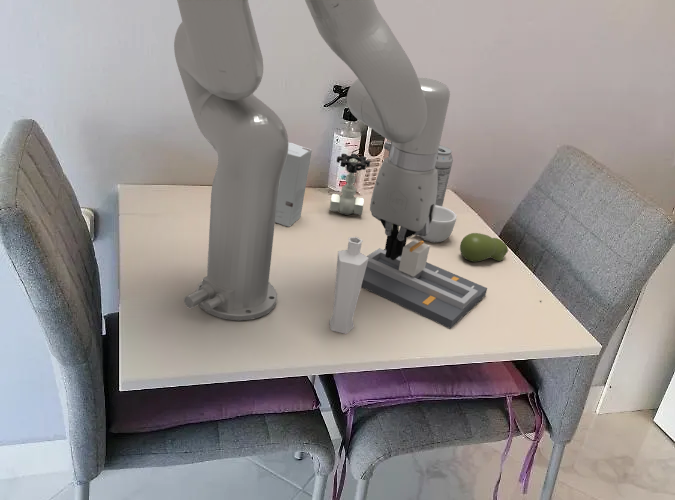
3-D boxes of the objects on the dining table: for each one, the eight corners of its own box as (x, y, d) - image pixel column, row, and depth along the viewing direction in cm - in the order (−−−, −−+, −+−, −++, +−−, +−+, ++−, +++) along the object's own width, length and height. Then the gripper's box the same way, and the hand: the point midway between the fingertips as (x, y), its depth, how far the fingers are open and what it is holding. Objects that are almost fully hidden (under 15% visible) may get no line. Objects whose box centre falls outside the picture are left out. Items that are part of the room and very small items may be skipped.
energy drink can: (427, 207, 149) (442, 142, 142) (445, 219, 145) (460, 153, 138) (405, 211, 146) (419, 144, 139) (423, 223, 142) (437, 155, 135)
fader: (412, 282, 116) (419, 251, 113) (397, 276, 117) (403, 245, 115) (423, 274, 119) (430, 243, 116) (408, 267, 121) (415, 237, 118)
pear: (460, 227, 130) (500, 231, 134) (450, 251, 132) (490, 254, 137) (477, 240, 125) (517, 244, 130) (467, 266, 127) (507, 268, 132)
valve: (361, 222, 138) (370, 167, 133) (328, 218, 138) (336, 162, 132) (361, 209, 144) (370, 155, 138) (329, 204, 144) (337, 151, 138)
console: (450, 328, 109) (454, 314, 107) (346, 279, 118) (348, 266, 116) (485, 295, 119) (489, 282, 118) (387, 253, 128) (390, 240, 127)
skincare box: (252, 216, 134) (258, 145, 127) (265, 206, 139) (272, 136, 132) (291, 228, 132) (300, 156, 125) (303, 217, 137) (312, 146, 130)
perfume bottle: (358, 321, 107) (373, 236, 100) (352, 336, 103) (368, 249, 96) (329, 314, 108) (343, 229, 100) (323, 329, 104) (336, 242, 97)
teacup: (442, 228, 141) (447, 204, 139) (456, 246, 135) (463, 222, 132) (396, 228, 138) (401, 204, 136) (409, 246, 132) (414, 221, 129)
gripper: (361, 148, 111) (345, 247, 120) (444, 177, 104) (421, 280, 113) (384, 138, 117) (368, 234, 125) (464, 166, 110) (441, 264, 119)
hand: (393, 255), depth 119 cm, fingers closed
